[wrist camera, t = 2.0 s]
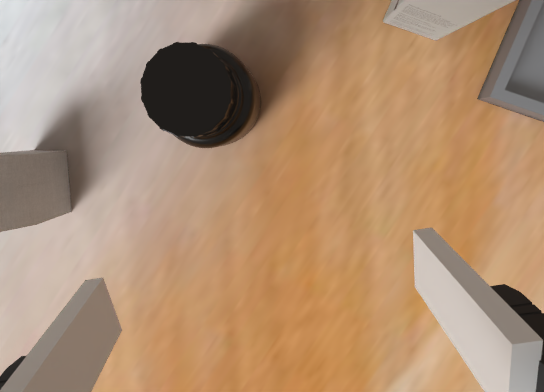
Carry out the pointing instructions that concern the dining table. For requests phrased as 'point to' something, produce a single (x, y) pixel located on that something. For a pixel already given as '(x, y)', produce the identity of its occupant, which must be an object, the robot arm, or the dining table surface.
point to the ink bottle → (200, 94)
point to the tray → (519, 64)
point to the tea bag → (33, 187)
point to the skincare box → (438, 15)
